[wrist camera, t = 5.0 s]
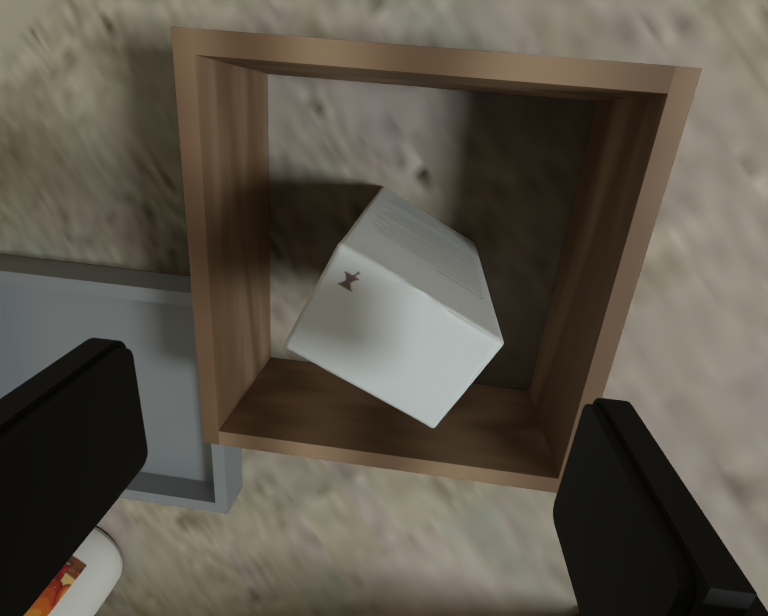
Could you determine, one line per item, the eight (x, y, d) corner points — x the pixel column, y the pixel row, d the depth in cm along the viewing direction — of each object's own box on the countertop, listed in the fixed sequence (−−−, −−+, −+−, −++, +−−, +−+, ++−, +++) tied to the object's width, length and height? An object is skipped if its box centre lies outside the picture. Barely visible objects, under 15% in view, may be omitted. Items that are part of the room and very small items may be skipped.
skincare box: (344, 250, 26) (276, 346, 15) (383, 184, 25) (337, 236, 14) (436, 305, 27) (434, 435, 16) (479, 244, 25) (510, 340, 14)
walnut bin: (619, 84, 22) (702, 68, 15) (540, 403, 29) (572, 494, 22) (251, 54, 23) (170, 26, 16) (258, 367, 30) (203, 442, 23)
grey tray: (233, 281, 28) (214, 296, 25) (242, 486, 34) (227, 513, 31) (-13, 252, 29) (-53, 264, 27) (37, 456, 35) (9, 480, 32)
